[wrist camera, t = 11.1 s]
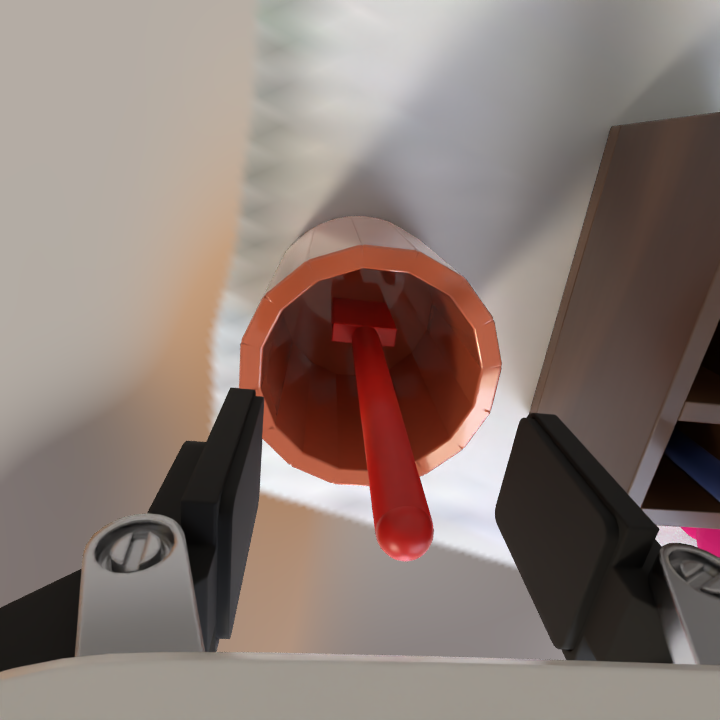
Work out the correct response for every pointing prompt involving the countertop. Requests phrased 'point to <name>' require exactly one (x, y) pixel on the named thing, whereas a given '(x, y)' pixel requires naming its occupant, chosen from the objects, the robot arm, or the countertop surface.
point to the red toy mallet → (384, 431)
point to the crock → (405, 360)
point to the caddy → (645, 316)
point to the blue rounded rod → (695, 461)
